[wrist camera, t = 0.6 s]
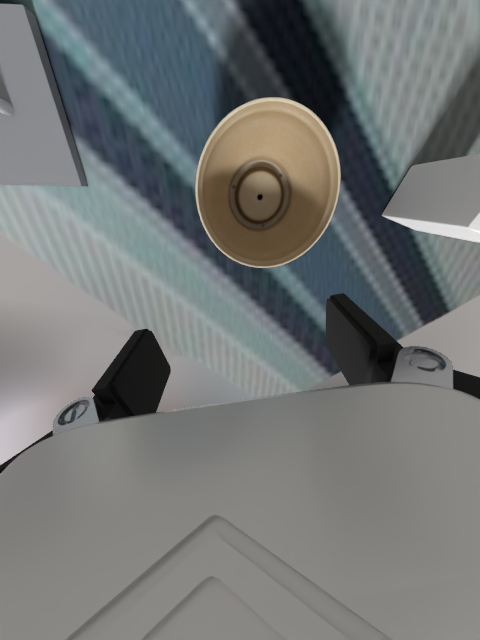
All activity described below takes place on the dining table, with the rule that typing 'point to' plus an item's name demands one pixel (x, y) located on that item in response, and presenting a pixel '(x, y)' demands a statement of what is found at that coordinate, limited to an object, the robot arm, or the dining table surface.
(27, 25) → the gear board
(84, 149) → the dining table surface
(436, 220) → the milk carton
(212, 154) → the planter bowl
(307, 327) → the dining table surface
